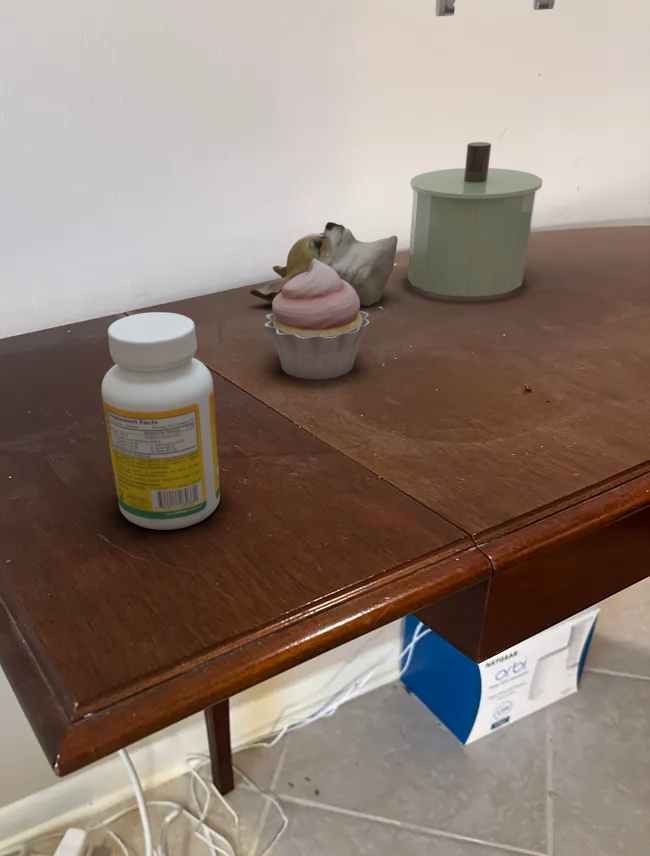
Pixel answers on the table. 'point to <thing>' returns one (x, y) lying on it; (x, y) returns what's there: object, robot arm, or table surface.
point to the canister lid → (476, 179)
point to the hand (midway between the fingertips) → (493, 12)
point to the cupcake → (317, 324)
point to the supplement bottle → (161, 422)
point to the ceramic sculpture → (339, 262)
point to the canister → (469, 244)
